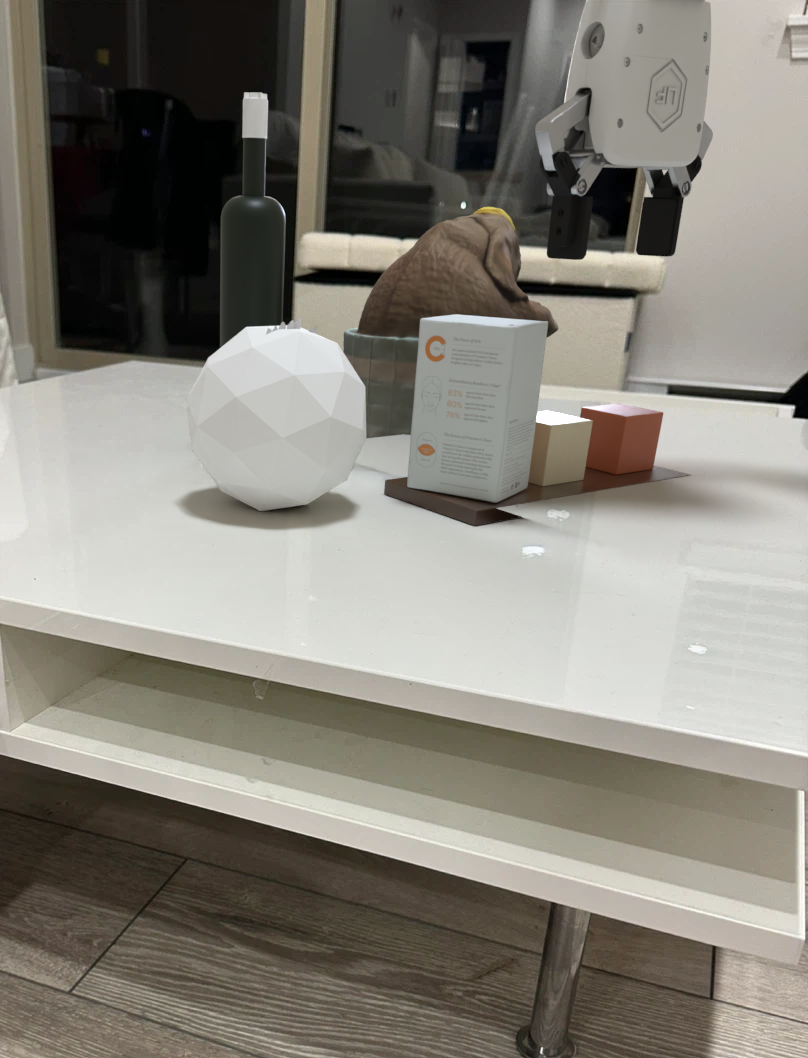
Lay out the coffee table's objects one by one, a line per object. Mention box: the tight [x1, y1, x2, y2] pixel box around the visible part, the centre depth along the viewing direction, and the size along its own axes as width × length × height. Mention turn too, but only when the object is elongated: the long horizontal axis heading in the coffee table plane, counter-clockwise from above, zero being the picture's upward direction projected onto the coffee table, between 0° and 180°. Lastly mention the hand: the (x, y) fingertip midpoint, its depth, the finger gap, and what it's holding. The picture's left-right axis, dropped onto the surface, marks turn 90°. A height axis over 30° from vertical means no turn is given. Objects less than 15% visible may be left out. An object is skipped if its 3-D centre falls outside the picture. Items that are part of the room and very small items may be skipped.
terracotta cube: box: [579, 403, 664, 475], centre depth 94 cm, size 5×5×5 cm
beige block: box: [528, 410, 593, 486], centre depth 89 cm, size 5×5×5 cm
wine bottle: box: [219, 91, 287, 349], centre depth 96 cm, size 6×6×30 cm
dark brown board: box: [383, 465, 692, 526], centre depth 91 cm, size 26×11×1 cm, turn 123°
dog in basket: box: [342, 206, 559, 439], centre depth 111 cm, size 23×25×22 cm
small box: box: [407, 314, 548, 503], centre depth 83 cm, size 8×6×13 cm
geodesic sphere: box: [186, 317, 367, 512], centre depth 82 cm, size 15×14×14 cm
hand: (611, 257), depth 78 cm, fingers open, 9 cm apart
